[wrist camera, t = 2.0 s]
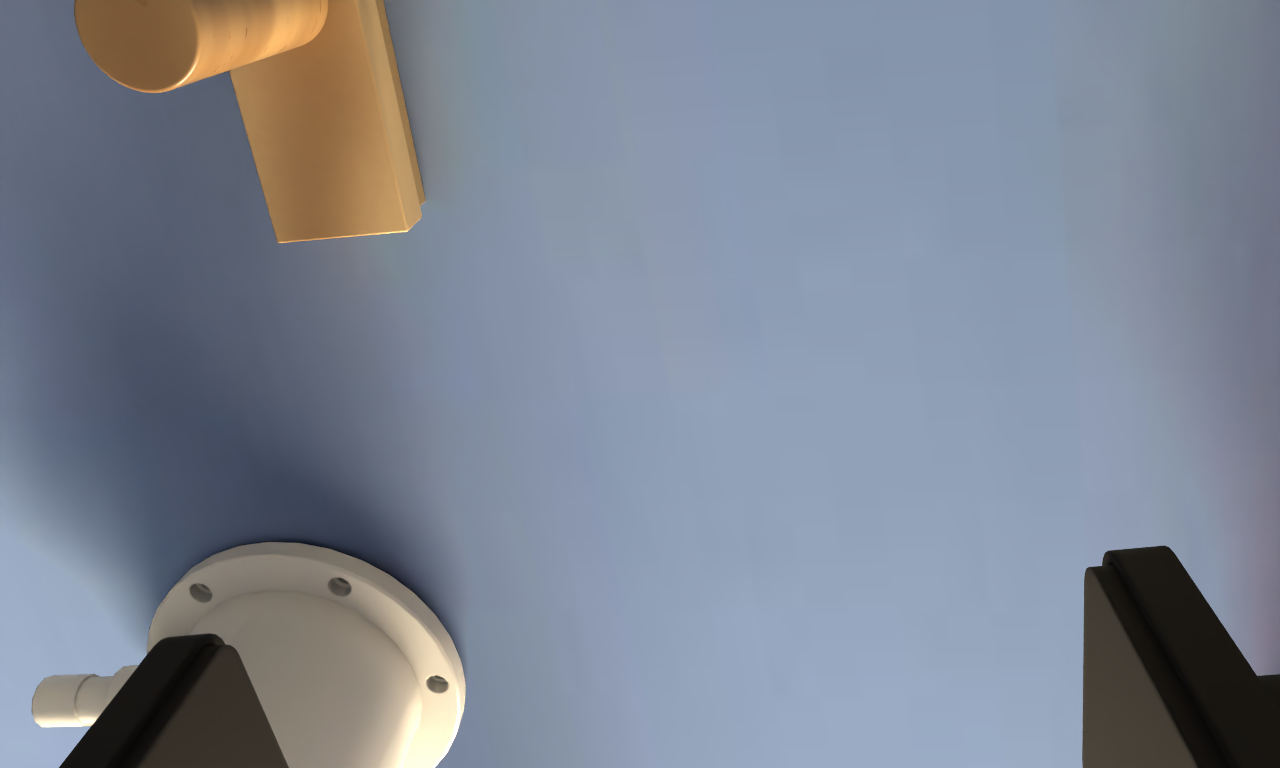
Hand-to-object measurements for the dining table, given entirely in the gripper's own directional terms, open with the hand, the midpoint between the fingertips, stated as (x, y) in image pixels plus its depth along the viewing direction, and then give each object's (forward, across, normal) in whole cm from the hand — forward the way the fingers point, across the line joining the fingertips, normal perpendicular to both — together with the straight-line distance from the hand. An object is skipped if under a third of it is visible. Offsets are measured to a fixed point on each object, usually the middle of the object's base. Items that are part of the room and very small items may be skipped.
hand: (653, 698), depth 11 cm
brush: (+22, +10, -8) cm, 25 cm away
